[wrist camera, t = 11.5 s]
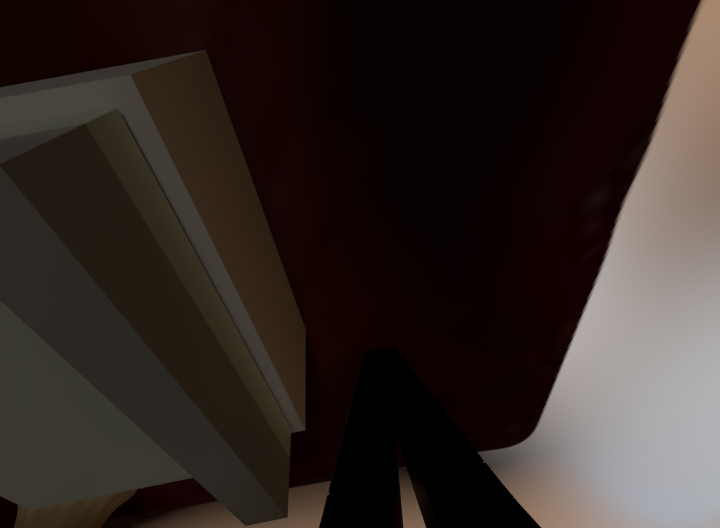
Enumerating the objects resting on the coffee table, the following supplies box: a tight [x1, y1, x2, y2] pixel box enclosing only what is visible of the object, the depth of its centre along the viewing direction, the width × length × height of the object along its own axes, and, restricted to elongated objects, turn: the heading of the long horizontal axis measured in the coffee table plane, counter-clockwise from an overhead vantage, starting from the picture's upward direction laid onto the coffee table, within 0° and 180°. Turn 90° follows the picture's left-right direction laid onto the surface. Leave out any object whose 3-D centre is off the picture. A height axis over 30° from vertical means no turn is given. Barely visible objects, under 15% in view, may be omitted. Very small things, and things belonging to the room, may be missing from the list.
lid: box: [0, 108, 291, 526], centre depth 9 cm, size 10×13×3 cm
